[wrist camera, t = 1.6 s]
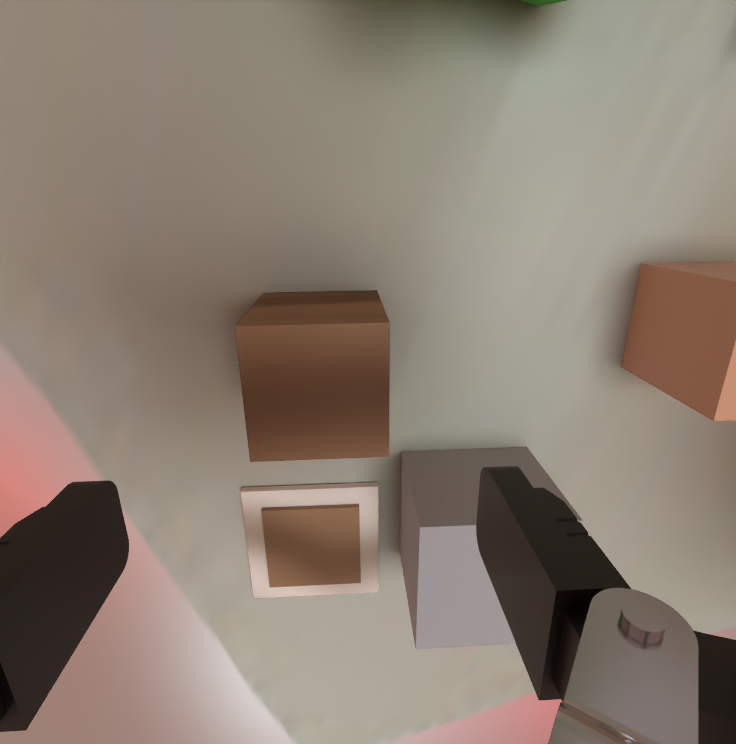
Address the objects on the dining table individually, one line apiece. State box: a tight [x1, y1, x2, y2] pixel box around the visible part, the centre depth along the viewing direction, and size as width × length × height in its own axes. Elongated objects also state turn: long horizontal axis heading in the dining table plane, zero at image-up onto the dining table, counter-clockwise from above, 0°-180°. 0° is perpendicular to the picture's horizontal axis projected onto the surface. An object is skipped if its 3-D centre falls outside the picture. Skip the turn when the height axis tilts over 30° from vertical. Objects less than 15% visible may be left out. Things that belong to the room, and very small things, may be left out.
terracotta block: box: [622, 261, 736, 421], centre depth 19 cm, size 5×5×6 cm
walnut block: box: [235, 290, 390, 462], centre depth 19 cm, size 5×5×6 cm
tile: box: [241, 482, 379, 598], centre depth 25 cm, size 7×7×1 cm
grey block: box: [400, 447, 583, 649], centre depth 22 cm, size 6×6×6 cm
